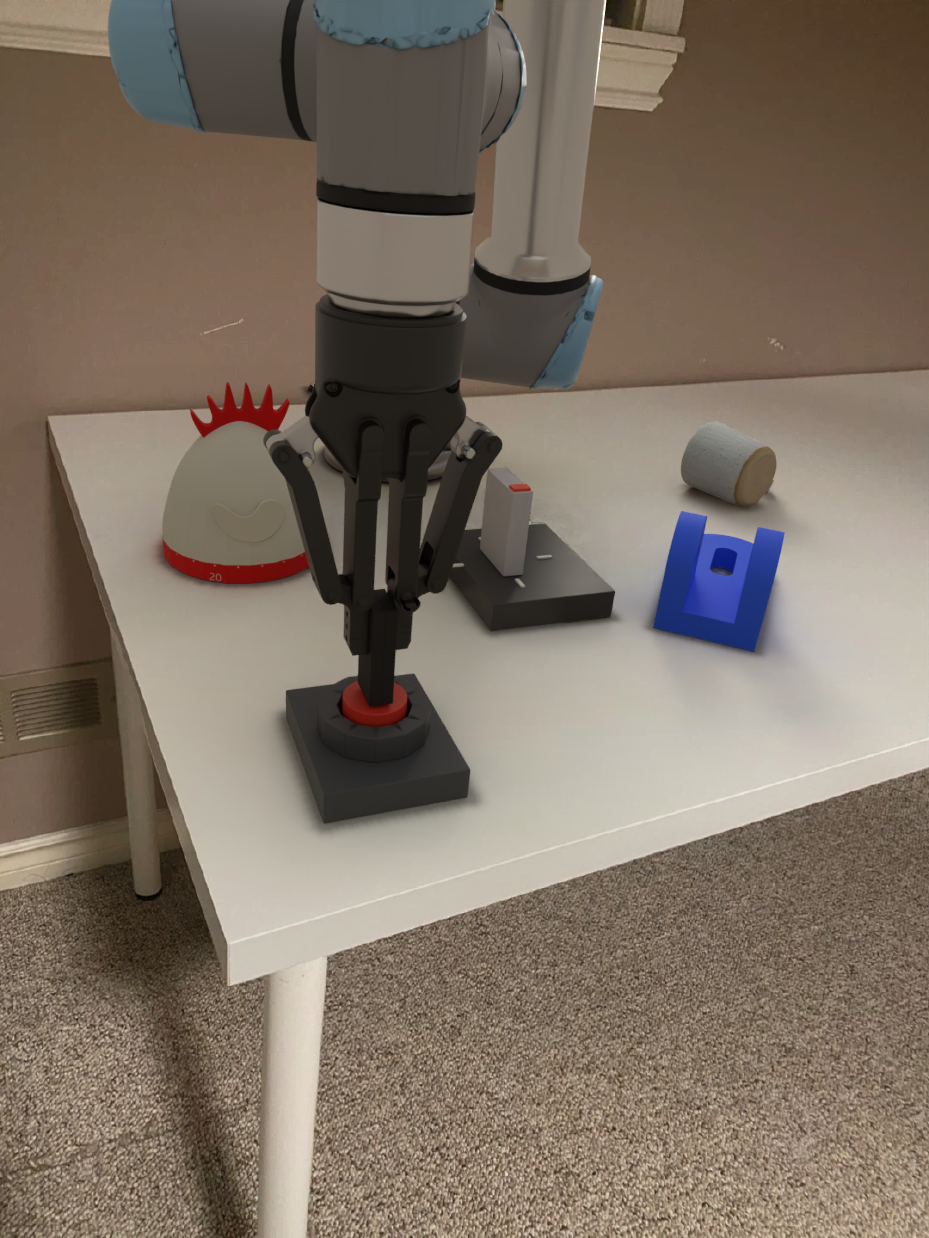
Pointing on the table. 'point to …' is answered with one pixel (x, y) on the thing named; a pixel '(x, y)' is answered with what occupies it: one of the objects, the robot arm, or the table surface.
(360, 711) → the stop button
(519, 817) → the table surface
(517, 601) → the panel
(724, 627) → the bracket
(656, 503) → the table surface
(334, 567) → the robot arm
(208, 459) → the kitchen timer
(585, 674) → the table surface
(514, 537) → the grey upright block
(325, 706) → the stop housing
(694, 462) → the wooden log
